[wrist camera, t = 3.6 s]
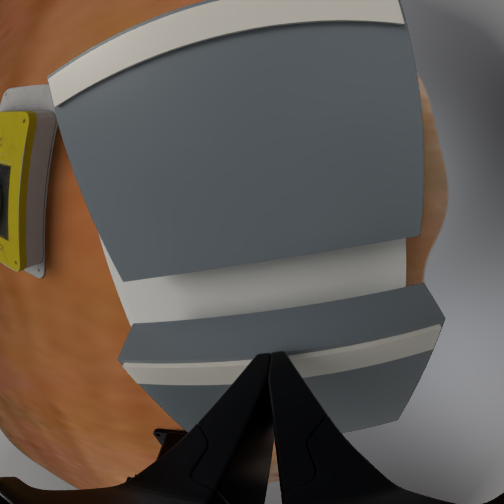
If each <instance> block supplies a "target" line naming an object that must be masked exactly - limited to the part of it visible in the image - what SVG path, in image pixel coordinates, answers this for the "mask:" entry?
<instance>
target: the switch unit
mask: <svg viewBox="0 0 504 504" xmlns="http://www.w3.org/2000/svg"><path fill="white" fill-rule="evenodd" d="M99 236H100V235H99ZM100 240H101V243H102V247H103V250H104V253H105V257H106V260H107V263H108V266H109V269H110V272H111V275H112V278H113V281H114V284H115V287H116V289H117V292H118V295H119V298H120V300H121V303H122V306H123V308H124V311H125V313H126V316H127V318H128V321H129V323H130V325H131V327H132V325H133V323H150V322H165V321H178V320H190V319H201V318H211V317H221V316H230V315H239V314H248V313H256V312H263V311H271V310H278V309H285V308H292V307H299V306H306V305H312V304H318V303H324V302H330V301H336V300H342V299H347V298H353V297H358V296H363V295H369V294H374V293H379V292H384V291H388V290H393V289H398V288H403V287H406V238H403V239H398V240H392V241H386V242H380V243H374V244H368V245H362V246H356V247H350V248H344V249H338V250H332V251H325V252H319V253H313V254H307V255H301V256H294V257H288V258H282V259H275V260H269V261H262V262H256V263H250V264H243V265H236V266H230V267H223V268H217V269H210V270H203V271H197V272H190V273H183V274H176V275H169V276H162V277H155V278H148V279H141V280H134V281H127V282H123V281H122V279H121V277H120V275H119V273H118V271H117V269H116V267H115V266H114V264H113V262H112V260H111V258H110V256H109V254H108V252H107V250H106V247H105V245H104V243H103V241H102V239H101V237H100Z"/></svg>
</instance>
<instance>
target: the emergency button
mask: <svg viewBox="0 0 504 504" xmlns="http://www.w3.org/2000/svg"><path fill="white" fill-rule="evenodd" d="M57 126H58V122H57V118H56V114H55V110H54V106H53V102H52V98H51V94H50V89H49V85H48V84H42V85H32V86H23V87H16V88H9V89H8V90H6V92H5V93H4V95H3V98H2V100H1V104H0V262H1V263H3V264H4V265H6V266H7V267H9V268H10V269H12V270H14V271H17V272H18V271H21V270H25V271H26V272H28V273H30V274H32V275H33V276H35V277H37V278H42V277H43V276H44V275H45V216H46V200H47V189H48V180H49V172H50V164H51V158H52V152H53V146H54V141H55V135H56V131H57Z"/></svg>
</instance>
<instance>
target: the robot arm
mask: <svg viewBox="0 0 504 504" xmlns="http://www.w3.org/2000/svg"><path fill="white" fill-rule="evenodd" d="M198 424H199V425H198ZM198 424H196V425H195V426H194V427H193V428H192V429H191V430H190V431H189V432H182V431H171V430H161V429H155V430H154V433H153V434H154V436H155V437H156V438H157V440H158V441H159V442H160V444H161V445H162V447H161V449H160V452H159V455H158V457H157V460H156V461H155V462H154V463H152V464H151V465H150V466H149V467H147V468H146V469H144V470H143V471H142V472H140V473H139V474H138V475H135V477H133V478H131V477H128V478H127V480H126V482H125V483H122V484H120V485H117V486H113V487H106V488H96V489H83V490H41V489H36V488H33V487H30V486H28V485H27V484H25V483H24V482H22V481H21V480H20V479H18V478H16V477H0V494H2V495H3V496H4V497H5V498H6V499H7V500H8V501H7V500H6V499H5V498H4V497H2V496H1V495H0V504H11V503H12V504H264V503H265V497H266V491H267V484H268V478H269V472H270V465H271V458H272V451H273V443H274V437H275V446H276V454H277V463H278V472H279V480H280V489H281V497H282V504H454V503H450V502H446V501H442V500H438V499H434V498H431V497H427V496H424V495H420V494H417V493H414V492H411V491H408V490H405V489H403V488H401V487H399V486H397V485H395V484H394V483H392V482H391V481H390V480H388V479H387V478H386V477H385V476H384V475H383V474H382V473H380V472H379V471H378V470H377V469H376V468H375V467H374V466H373V465H372V464H371V463H370V462H369V461H368V460H367V459H365V458H364V457H363V456H362V455H361V454H360V453H359V452H358V451H357V450H356V449H355V448H354V447H353V446H352V445H351V444H350V442H349V441H348V440H347V439H346V438H345V437H344V436H343V435H342V433H341V432H340V431H339V429H338V428H337V427H336V426H335V424H334V423H333V421H332V420H331V418H330V417H329V416H328V414H327V413H326V412H325V410H324V409H323V407H322V406H321V404H320V403H319V401H318V400H317V399H316V397H315V396H314V394H313V393H312V391H311V390H310V388H309V387H308V385H307V384H306V382H305V381H304V379H303V378H302V376H301V375H300V374H299V372H298V371H297V369H296V368H295V366H294V365H293V363H292V362H291V360H290V359H289V357H288V356H287V354H286V353H285V352H284V351H278V352H272V353H271V354H270V353H260V354H257V355H256V356H255V357H254V358H253V360H252V361H251V362H250V363H249V364H248V366H247V367H246V368H245V369H244V370H243V372H242V373H241V374H240V375H239V376H238V378H237V379H236V380H235V381H234V382H233V383H232V385H231V386H230V387H229V388H228V389H227V390H226V392H225V393H224V394H223V395H222V396H221V397H220V398H219V400H218V401H217V402H216V403H215V404H214V405H213V406H212V407H211V409H210V410H209V411H208V412H207V413H206V414H205V415H204V416H203V417H202V418H201V420H200V421H199V422H198ZM483 504H504V493H503V494H501V495H500V496H498V497H497V498H495V499H494V500H491V501H489V502H487V503H483Z"/></svg>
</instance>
